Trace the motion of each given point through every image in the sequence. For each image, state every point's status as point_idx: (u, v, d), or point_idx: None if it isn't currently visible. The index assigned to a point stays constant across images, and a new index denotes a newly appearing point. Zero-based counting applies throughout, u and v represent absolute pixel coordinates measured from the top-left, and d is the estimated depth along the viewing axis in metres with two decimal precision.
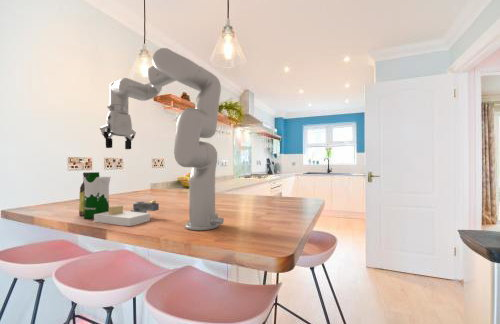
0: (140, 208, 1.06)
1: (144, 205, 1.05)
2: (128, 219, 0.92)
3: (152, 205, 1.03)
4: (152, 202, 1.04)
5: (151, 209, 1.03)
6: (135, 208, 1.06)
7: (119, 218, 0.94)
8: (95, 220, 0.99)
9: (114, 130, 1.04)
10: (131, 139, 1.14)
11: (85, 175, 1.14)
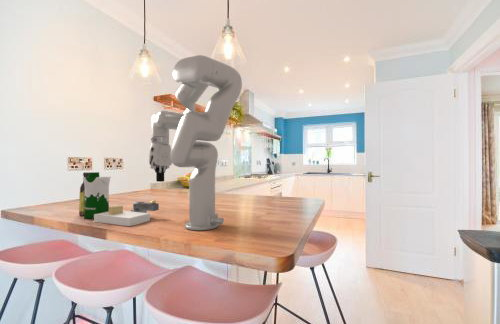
0: (140, 208, 1.06)
1: (144, 205, 1.05)
2: (128, 219, 0.92)
3: (152, 205, 1.03)
4: (152, 202, 1.04)
5: (151, 209, 1.03)
6: (135, 208, 1.06)
7: (119, 218, 0.94)
8: (95, 220, 0.99)
9: (157, 162, 1.06)
10: (164, 171, 1.12)
11: (85, 175, 1.14)
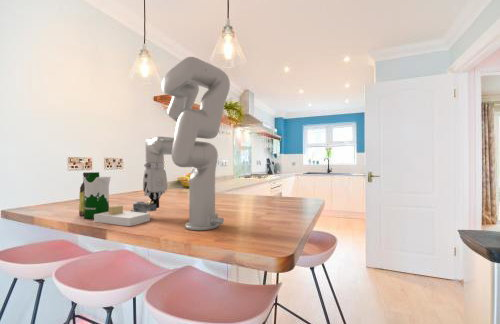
0: (139, 208, 1.06)
1: (142, 205, 1.04)
2: (128, 219, 0.92)
3: (149, 205, 1.02)
4: (149, 202, 1.03)
5: (148, 209, 1.02)
6: (134, 208, 1.06)
7: (119, 218, 0.94)
8: (95, 220, 0.99)
9: (151, 189, 1.03)
10: (159, 197, 1.08)
11: (85, 175, 1.14)
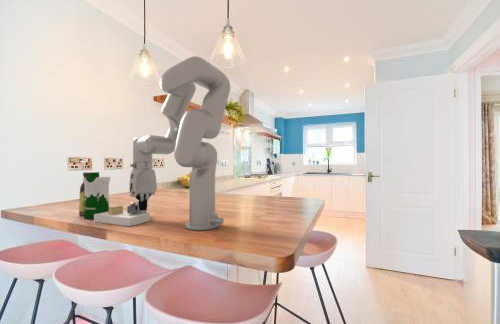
0: None
1: None
2: (128, 219, 0.92)
3: None
4: (130, 204, 1.00)
5: None
6: None
7: (119, 218, 0.94)
8: (95, 220, 0.99)
9: (136, 190, 0.98)
10: (147, 199, 1.03)
11: (85, 175, 1.14)
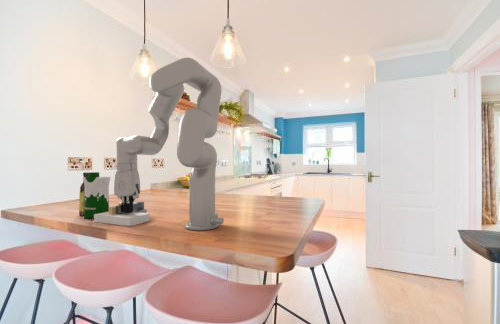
0: None
1: None
2: (128, 219, 0.92)
3: None
4: None
5: None
6: None
7: (119, 218, 0.94)
8: (95, 220, 0.99)
9: (114, 192, 0.99)
10: (127, 202, 0.98)
11: (85, 175, 1.14)
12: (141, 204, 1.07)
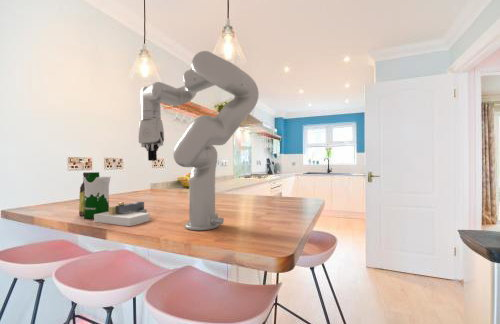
0: None
1: None
2: (128, 219, 0.92)
3: None
4: None
5: None
6: None
7: (119, 218, 0.94)
8: (95, 220, 0.99)
9: (139, 140, 1.02)
10: (152, 149, 1.01)
11: (85, 175, 1.14)
12: (141, 204, 1.07)
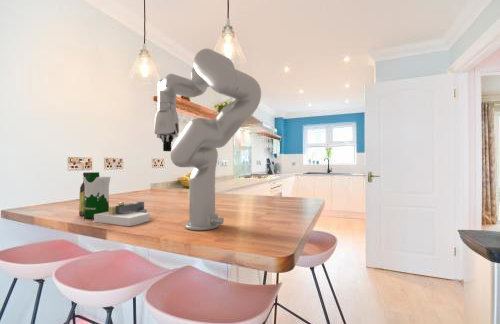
0: None
1: None
2: (128, 219, 0.92)
3: None
4: None
5: None
6: None
7: (119, 218, 0.94)
8: (95, 220, 0.99)
9: (154, 131, 1.05)
10: (167, 140, 1.04)
11: (85, 175, 1.14)
12: (141, 204, 1.07)
